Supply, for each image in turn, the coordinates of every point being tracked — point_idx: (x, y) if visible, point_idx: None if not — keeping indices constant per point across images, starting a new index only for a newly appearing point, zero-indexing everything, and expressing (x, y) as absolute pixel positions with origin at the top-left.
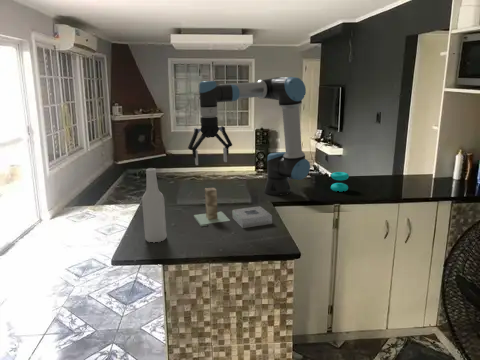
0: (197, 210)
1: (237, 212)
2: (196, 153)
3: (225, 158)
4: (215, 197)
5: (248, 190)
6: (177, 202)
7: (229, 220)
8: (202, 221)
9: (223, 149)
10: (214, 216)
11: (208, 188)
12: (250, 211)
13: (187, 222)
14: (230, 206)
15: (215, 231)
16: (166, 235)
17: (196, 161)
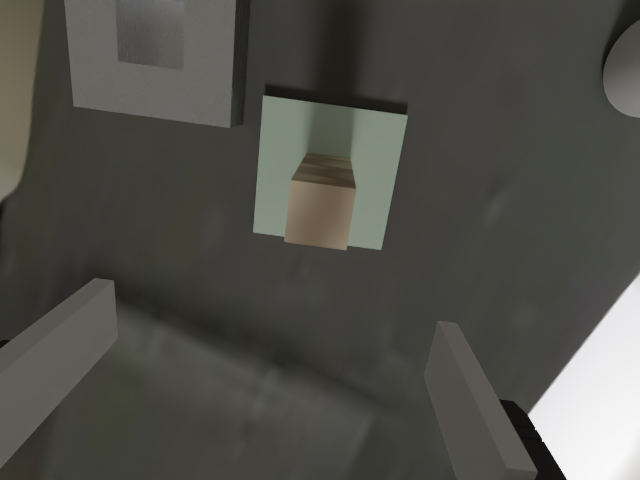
0: (333, 312)
1: (221, 71)
2: (508, 433)
3: (83, 302)
4: (304, 171)
5: (50, 428)
6: (365, 431)
7: (267, 98)
8: (383, 151)
9: (9, 444)
10: (320, 156)
11: (325, 237)
12: (148, 66)
13: (432, 198)
14: (187, 291)
15: (375, 17)
16: (615, 47)
17: (470, 351)
